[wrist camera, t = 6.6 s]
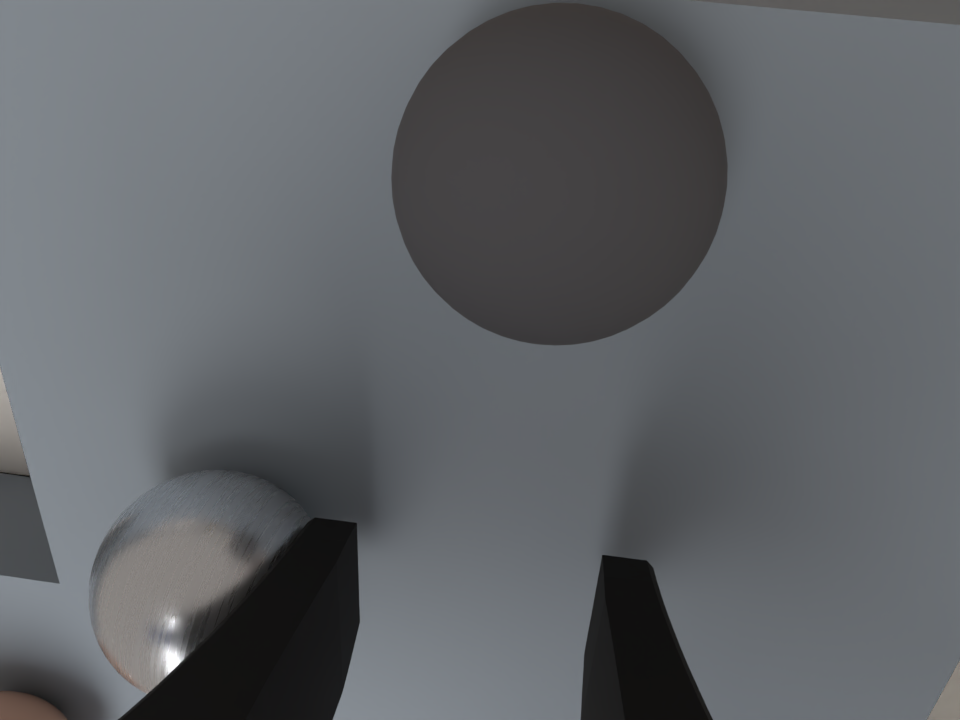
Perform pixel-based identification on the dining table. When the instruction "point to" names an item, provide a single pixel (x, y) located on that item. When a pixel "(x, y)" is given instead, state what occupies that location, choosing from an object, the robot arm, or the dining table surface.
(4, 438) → the dining table surface
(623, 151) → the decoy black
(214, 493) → the steel ball
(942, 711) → the dining table surface
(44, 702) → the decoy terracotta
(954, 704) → the dining table surface
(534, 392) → the board
